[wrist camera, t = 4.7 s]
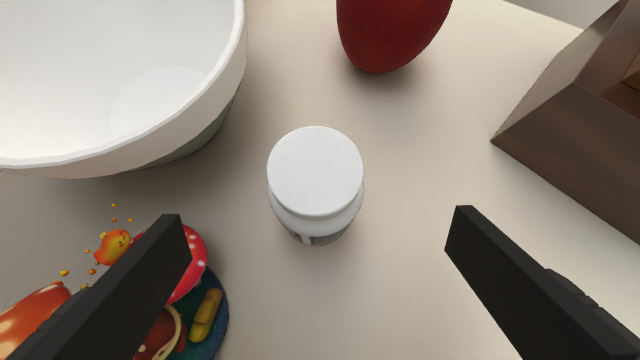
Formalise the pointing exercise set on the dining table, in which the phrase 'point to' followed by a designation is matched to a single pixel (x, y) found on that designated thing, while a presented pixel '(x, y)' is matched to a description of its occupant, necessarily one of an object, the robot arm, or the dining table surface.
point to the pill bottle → (315, 183)
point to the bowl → (114, 82)
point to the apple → (388, 30)
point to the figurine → (170, 327)
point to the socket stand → (588, 120)
